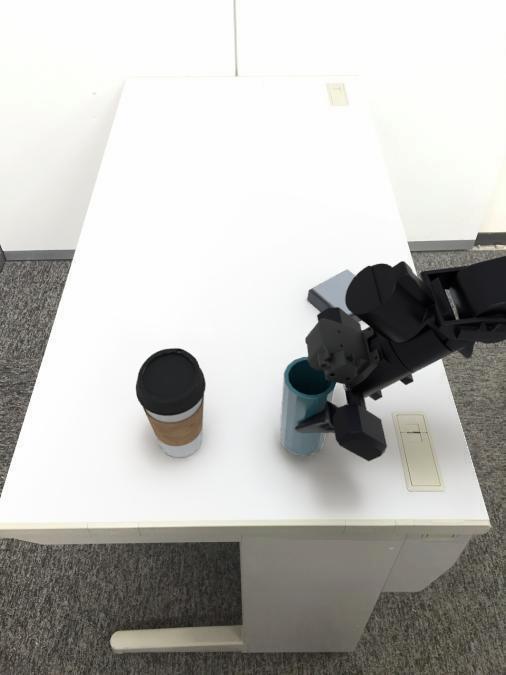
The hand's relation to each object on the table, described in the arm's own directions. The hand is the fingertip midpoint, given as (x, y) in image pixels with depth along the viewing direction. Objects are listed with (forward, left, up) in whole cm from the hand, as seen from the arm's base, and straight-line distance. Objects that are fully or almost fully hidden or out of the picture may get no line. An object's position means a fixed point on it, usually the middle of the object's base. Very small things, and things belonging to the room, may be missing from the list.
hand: (295, 408), depth 66 cm
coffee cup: (+15, +5, -10) cm, 18 cm away
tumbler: (-1, -1, -7) cm, 7 cm away
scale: (+1, -29, -9) cm, 31 cm away
